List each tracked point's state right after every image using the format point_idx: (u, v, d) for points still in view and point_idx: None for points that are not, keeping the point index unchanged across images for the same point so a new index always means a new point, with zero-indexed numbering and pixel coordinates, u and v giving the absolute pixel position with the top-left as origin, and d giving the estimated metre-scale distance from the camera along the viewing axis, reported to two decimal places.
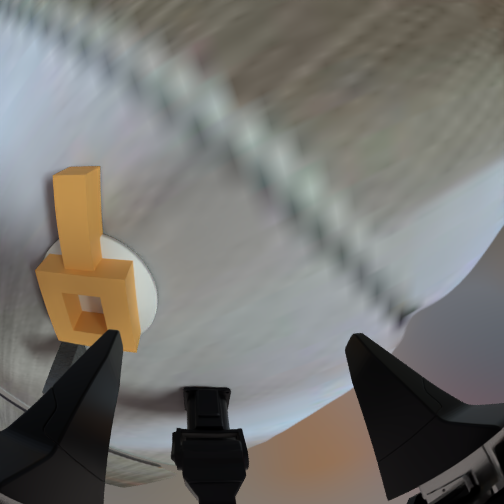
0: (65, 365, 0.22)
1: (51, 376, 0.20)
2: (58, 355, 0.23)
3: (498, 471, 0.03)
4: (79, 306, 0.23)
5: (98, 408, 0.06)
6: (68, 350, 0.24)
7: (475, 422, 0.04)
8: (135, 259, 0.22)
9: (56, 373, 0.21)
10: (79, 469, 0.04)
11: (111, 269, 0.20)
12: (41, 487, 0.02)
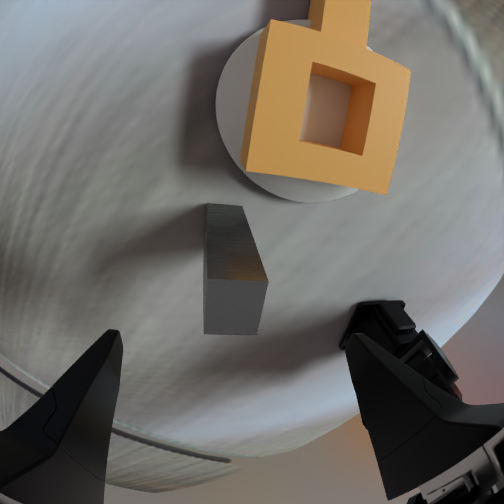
0: (238, 233, 0.14)
1: (218, 250, 0.12)
2: (212, 223, 0.15)
3: (498, 471, 0.03)
4: None
5: (98, 408, 0.06)
6: (229, 217, 0.16)
7: (475, 422, 0.04)
8: None
9: (226, 244, 0.13)
10: (79, 468, 0.04)
11: None
12: (41, 488, 0.02)
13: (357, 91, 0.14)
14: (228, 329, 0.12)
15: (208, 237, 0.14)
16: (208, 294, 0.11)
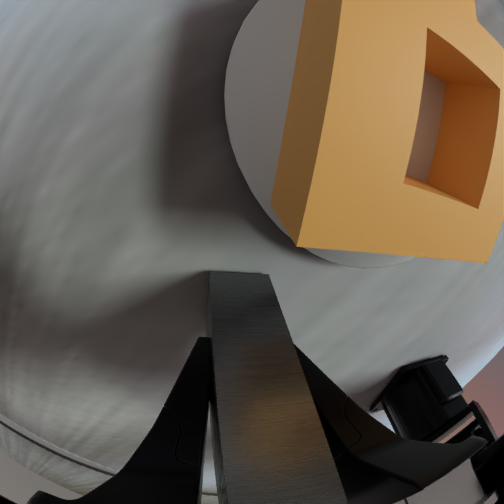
0: (274, 363, 0.07)
1: (242, 429, 0.05)
2: (223, 334, 0.08)
3: None
4: None
5: None
6: (252, 312, 0.09)
7: (393, 469, 0.03)
8: None
9: (257, 406, 0.06)
10: None
11: None
12: None
13: (460, 94, 0.07)
14: None
15: (218, 386, 0.06)
16: None
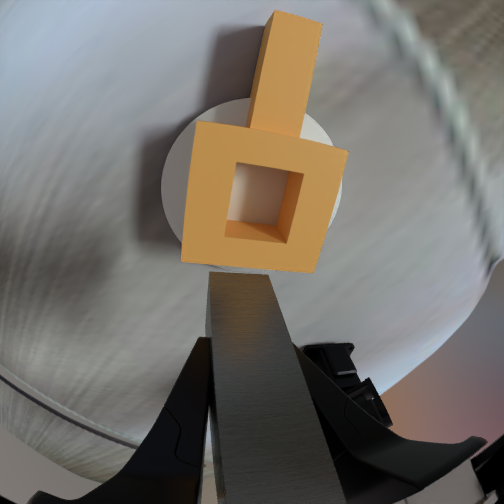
0: (274, 363, 0.07)
1: (241, 429, 0.05)
2: (222, 334, 0.08)
3: None
4: None
5: None
6: (252, 312, 0.09)
7: (393, 470, 0.03)
8: None
9: (255, 406, 0.06)
10: None
11: None
12: None
13: (292, 174, 0.17)
14: None
15: (218, 386, 0.06)
16: None
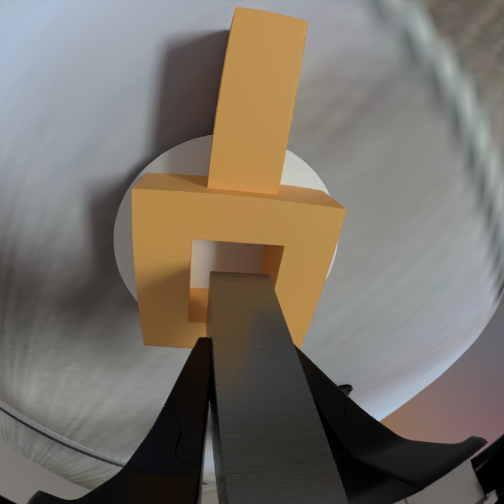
0: (275, 363, 0.07)
1: (242, 429, 0.05)
2: (223, 333, 0.08)
3: None
4: (190, 279, 0.15)
5: None
6: (252, 312, 0.09)
7: (393, 469, 0.03)
8: None
9: (257, 406, 0.06)
10: None
11: (305, 195, 0.12)
12: None
13: None
14: None
15: (218, 385, 0.06)
16: None
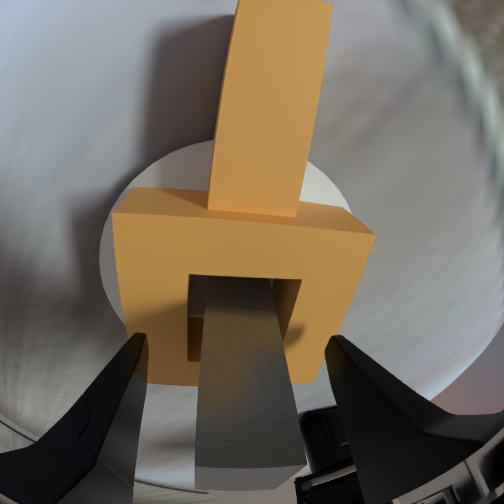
0: (257, 331, 0.08)
1: (219, 381, 0.06)
2: (215, 304, 0.09)
3: (480, 489, 0.02)
4: None
5: (130, 413, 0.06)
6: (244, 288, 0.10)
7: (456, 435, 0.04)
8: None
9: (235, 364, 0.07)
10: (114, 477, 0.04)
11: (326, 216, 0.10)
12: (83, 503, 0.02)
13: None
14: (232, 489, 0.05)
15: (204, 344, 0.07)
16: (198, 474, 0.04)
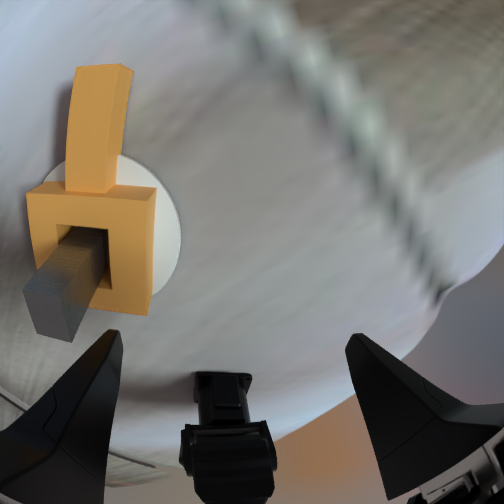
0: (79, 251, 0.14)
1: (49, 265, 0.12)
2: (68, 239, 0.14)
3: (498, 471, 0.03)
4: None
5: (98, 408, 0.06)
6: (88, 234, 0.15)
7: (475, 422, 0.04)
8: (160, 185, 0.17)
9: (59, 261, 0.12)
10: (79, 469, 0.04)
11: (129, 192, 0.15)
12: (41, 487, 0.02)
13: None
14: (50, 333, 0.11)
15: (52, 253, 0.13)
16: (27, 302, 0.10)
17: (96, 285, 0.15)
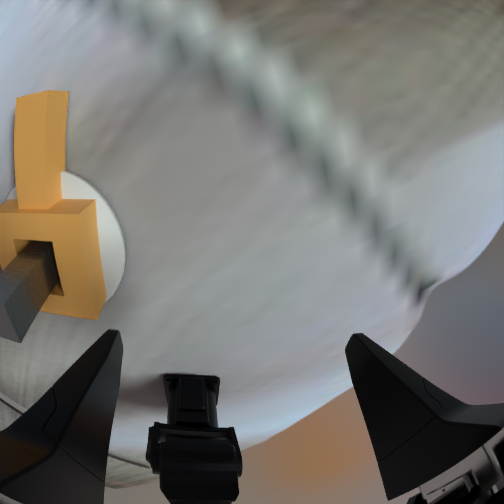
0: (28, 262, 0.13)
1: (2, 276, 0.11)
2: (22, 252, 0.14)
3: (498, 471, 0.03)
4: None
5: (98, 408, 0.06)
6: (39, 246, 0.15)
7: (475, 422, 0.04)
8: (98, 197, 0.17)
9: (11, 272, 0.12)
10: (79, 469, 0.04)
11: (68, 206, 0.15)
12: (41, 487, 0.02)
13: None
14: (4, 335, 0.10)
15: (7, 265, 0.12)
16: None
17: (47, 292, 0.15)
